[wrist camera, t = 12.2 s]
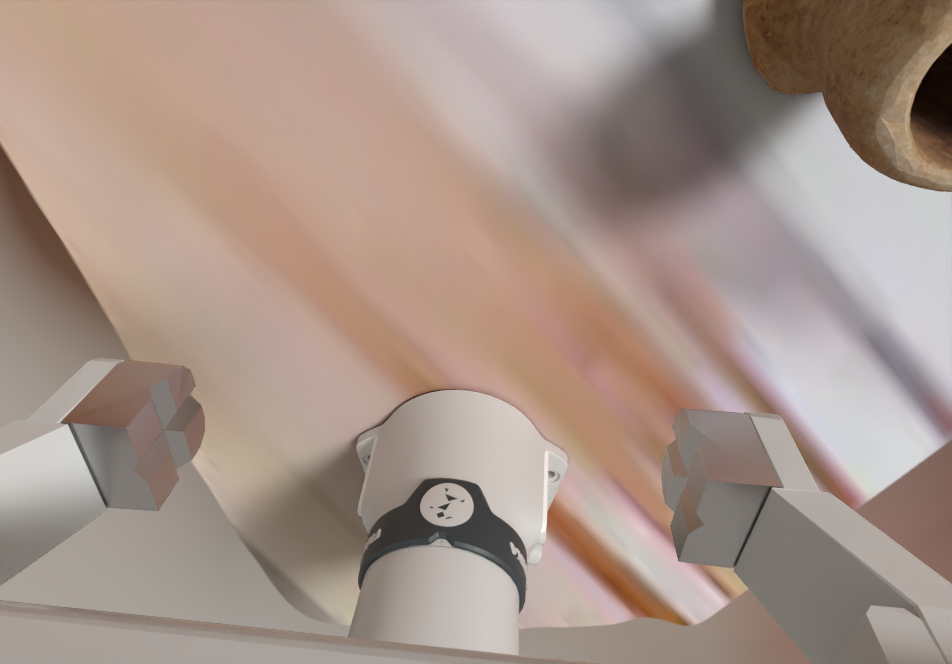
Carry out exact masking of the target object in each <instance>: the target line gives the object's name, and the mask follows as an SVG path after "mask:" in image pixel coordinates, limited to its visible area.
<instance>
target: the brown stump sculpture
mask: <svg viewBox="0 0 952 664" xmlns="http://www.w3.org/2000/svg"><path fill="white" fill-rule="evenodd" d="M742 19H743V27H744V33H745V38H746V44H747V47H748V51H749V54H750V58H751V61H752V63H753V65H754V67H755V69H756V70H757V72H758V73H759V74H760V75H761V76H762V77H763V78H764V79H766V82H767V84H768V85H769V86H770V88H771V89H773V90H775V91H777V92H779V93H784V94H790V95H792V94H804V93H812V92H818V91H822V93H823V97H824V100H825V103H826V106H827V108H828V110H829V112H830V113H831V115H832V117H833V119H834V121H835V122H836V124H837V125H838V127H839V129H840V131H841V132H842V134H843V136H844V137H845V139H846V141H847V142H848V144H849V145H850V147H851V148H852V149H853V150H854V151H855V152H856V153H857V155H858V156H859V157H860V158H861V159H862V160H863V161H864V162H866V163H867V164H868V165H870V166H871V167H872V168H874V169H875V170H877V171H878V172H880V173H882V174H884V175H886V176H888V177H890V178H892V179H894V180H896V181H899V182H901V183H905V184H908V185H912V186H916V187H919V188H924V189H930V190H935V191H946V192H952V0H742Z"/></svg>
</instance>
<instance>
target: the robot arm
mask: <svg viewBox="0 0 952 664" xmlns="http://www.w3.org/2000/svg"><path fill="white" fill-rule="evenodd" d="M195 386H196V385H195V382H194V379H193V376H192V373H191V370H190V369H188V368H186V367H184V366H179V365H170V364H161V363H151V362H142V361H133V360H119V359H109V358H100V357H99V358H96V359H92V360H89V361H88V362H87V363H86V364H85V365H83V366H82V367H81V368H80V369H79V371H77V372H76V373H75V374H74V375H73V376H72V377H71V378H70V379H69V380H68V381H67V382H66V383H65V384H63V385H62V386H61V387H60V388H59V389H58V390H57V391H56V392H55V393H54V394H53V395H52V396H51V397H50V398H49V399H48V400H47V401H46V402H44V403H43V404H42V405H41V406H40V407H39V408H38V409H37V410H36V411H35V412H34V413H33V414H32V415H31V416H30V417H29V418H28V419H27V420H14V421H12V422H9V423H7V424H5V425H2V426H0V586H1V585H2V584H4V583H5V582H7V581H8V580H9V579H11V578H12V577H14V576H15V575H16V574H18V573H19V572H21V571H22V570H24V569H25V568H26V567H28V566H29V565H31V564H32V563H33V562H35V561H36V560H38V559H39V558H40V557H42V556H43V555H44V554H46V553H48V552H49V551H50V550H52V549H53V548H55V547H56V546H57V545H59V544H60V543H62V542H63V541H64V540H66V539H67V538H68V537H70V536H72V535H73V534H74V533H76V532H77V531H78V530H80V529H81V528H83V527H84V526H86V525H87V524H88V523H90V522H91V521H93V520H94V519H96V518H97V517H98V516H100V515H101V514H102V513H104V512H105V511H107V508H120V509H134V510H151V511H159V509H160V508H161V506H162V505H163V503H164V502H165V500H166V499H167V497H168V496H169V494H170V493H171V491H172V490H173V488H174V487H175V485H176V484H177V482H178V481H179V477H178V472H177V468H179V467H181V466H182V465H184V464H185V463H187V462H189V461H191V460H192V459H193V458H194V456H195V454H196V453H197V451H198V449H199V448H200V446H201V442H202V439H203V435H204V431H205V417H204V413H203V409H202V406H201V405H200V404H199V403H198V402H197V401H196V400H195V399H194V398H193V397H192V396H191V395H190V394H191V392H192V391H193V389H194V388H195ZM673 429H674V433H675V437H676V440H675V441H674V442H672V443H671V444H670V445H668V446H667V447H666V451H665V455H664V459H663V466H662V489H663V495H664V499H665V503H666V504H667V505H668V506H669V507H670V508H671V509H672V510H673V511H674V512H675V513H674V516H673V519H672V522H671V525H670V527H671V531H672V535H673V540H674V544H675V548H676V553H677V557H678V561H679V562H687V563H695V564H703V565H711V566H719V567H727V568H735V569H734V572H735V573H736V574H737V575H738V577H739V578H740V579H741V580H742V581H743V583H744V584H745V585H746V586H747V587H748V588H749V590H750V591H751V592H752V593H753V594H754V596H755V597H756V598H757V599H758V600H759V601H760V603H761V604H762V605H763V606H764V607H765V609H766V610H767V611H768V612H769V613H770V615H771V616H772V617H773V618H774V619H775V621H776V622H777V623H778V624H779V625H780V626H781V628H782V629H783V630H784V631H785V632H786V634H787V635H788V636H789V637H790V638H791V640H792V641H793V642H794V643H795V644H796V646H797V647H798V648H799V649H800V650H801V651H802V653H803V654H804V655H805V656H806V657H807V659H808V660H809V661H810V662H811V663H812V664H952V584H951V583H949V582H948V581H947V580H945V579H944V578H943V577H941V576H940V575H939V574H937V573H936V572H935V571H933V570H932V569H931V568H929V567H928V566H927V565H925V564H924V563H923V562H921V561H920V560H919V559H917V558H916V557H915V556H913V555H912V554H911V553H909V552H908V551H907V550H905V549H904V548H903V547H901V546H900V545H899V544H897V543H896V542H894V541H893V540H892V539H891V538H889V537H888V536H887V535H885V534H884V533H883V532H881V531H880V530H879V529H877V528H876V527H875V526H873V525H872V524H871V523H869V522H868V521H867V520H865V519H864V518H863V517H861V516H860V515H859V514H857V513H856V512H855V511H853V510H852V509H851V508H849V507H848V506H847V505H845V504H844V503H843V502H841V501H840V500H839V499H837V498H836V497H835V496H833V495H832V494H831V493H826V492H820V491H819V489H818V487H817V485H816V483H815V481H814V479H813V477H812V475H811V474H810V472H809V470H808V468H807V466H806V464H805V462H804V460H803V458H802V456H801V454H800V452H799V450H798V448H797V446H796V444H795V442H794V440H793V439H792V437H791V435H790V433H789V431H788V429H787V427H786V425H785V423H784V421H783V419H782V418H781V417H779V416H778V415H777V414H763V413H747V412H745V413H737V412H724V411H711V410H698V409H686V408H681V409H680V410H679V412H678V413H677V415H676V418H675V421H674V424H673ZM356 451H357V454H358V457H359V459H360V462H361V465H362V467H363V470H364V473H365V479H364V483H363V487H362V491H361V495H360V500H359V504H358V515H359V516H361V517H362V522H363V525H364V527H365V529H366V531H367V532H368V534H369V536H368V540H367V543H366V544H365V547H364V549H363V553H362V557H361V561H360V571H359V577H358V584H359V588H360V594H359V598H358V601H357V605H356V609H355V612H354V616H353V620H352V624H351V627H350V631H349V635H348V637H340V636H332V635H331V636H330V635H322V634H313V633H304V632H294V631H284V630H275V629H266V628H256V627H247V626H238V625H229V624H219V623H210V622H200V621H191V620H181V619H171V618H163V617H153V616H144V615H134V614H124V613H115V612H105V611H96V610H87V609H77V608H68V607H57V606H49V605H39V604H29V603H20V602H11V601H1V600H0V664H599V663H588V662H578V661H569V660H560V659H551V658H541V657H531V656H522V655H519V614H520V612H521V610H522V608H523V606H524V603H525V594H526V590H527V585H528V569H527V564H531V565H538V564H539V562H540V559H541V555H542V545H544V543H545V539H546V525H547V511H548V509H549V507H550V505H551V503H552V501H553V499H554V496H555V494H556V492H557V490H558V488H559V486H560V484H561V481H562V479H563V477H564V475H565V473H566V471H567V467H568V457H567V455H566V454H565V453H564V452H563V451H562V450H561V449H559V448H558V447H556V446H555V445H553V444H551V443H549V442H548V441H546V440H545V439H544V438H543V437H542V436H541V435H540V434H539V433H538V431H537V430H536V428H535V427H534V426H533V424H532V423H531V422H530V421H529V420H528V419H527V418H526V416H524V415H523V414H522V413H521V412H520V411H518V410H517V409H516V408H514V407H513V406H511V405H510V404H508V403H506V402H504V401H502V400H500V399H497V398H495V397H492V396H489V395H486V394H483V393H478V392H473V391H466V390H443V391H436V392H431V393H427V394H424V395H421V396H418V397H416V398H414V399H411V400H410V401H408V402H406V403H405V404H403V405H402V406H401V407H399V408H398V409H397V410H396V411H395V412H394V413H393V414H392V415H391V416H390V418H389V419H388V420H387V421H386V422H385V423H384V424H382V425H381V426H378V427H376V428H374V429H371V430H369V431H367V432H365V433H363V434H362V435H360V436H359V438H358V440H357V445H356ZM549 471H552V472H549Z"/></svg>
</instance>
